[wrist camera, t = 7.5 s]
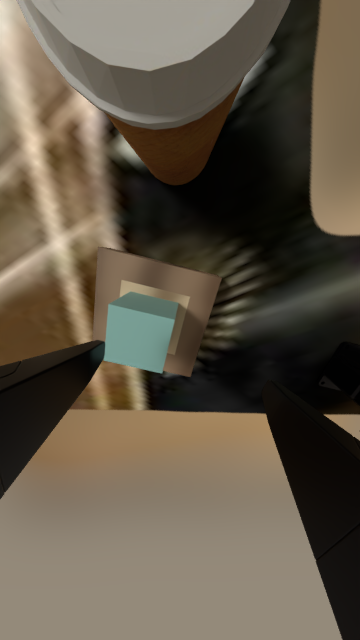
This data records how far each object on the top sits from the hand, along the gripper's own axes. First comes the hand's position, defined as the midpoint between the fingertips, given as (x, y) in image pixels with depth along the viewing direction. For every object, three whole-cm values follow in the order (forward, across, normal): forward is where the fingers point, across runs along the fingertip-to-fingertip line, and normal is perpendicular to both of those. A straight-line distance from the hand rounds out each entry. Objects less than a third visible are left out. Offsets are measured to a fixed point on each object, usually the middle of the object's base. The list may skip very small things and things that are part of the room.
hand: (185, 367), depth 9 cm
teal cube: (+9, +4, +2) cm, 10 cm away
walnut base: (+12, +4, +2) cm, 12 cm away
